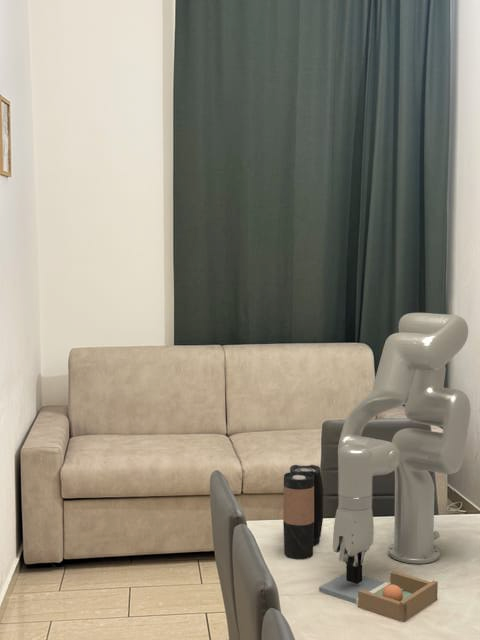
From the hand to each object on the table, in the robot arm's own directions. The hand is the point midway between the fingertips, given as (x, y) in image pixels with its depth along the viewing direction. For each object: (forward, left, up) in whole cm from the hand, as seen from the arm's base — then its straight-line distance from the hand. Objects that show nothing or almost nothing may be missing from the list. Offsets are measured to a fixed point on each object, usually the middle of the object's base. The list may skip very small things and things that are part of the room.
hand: (354, 581), depth 190 cm
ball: (+2, +11, 0) cm, 11 cm away
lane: (0, +6, -2) cm, 6 cm away
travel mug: (-9, -22, -2) cm, 24 cm away
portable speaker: (-17, -26, -2) cm, 31 cm away
